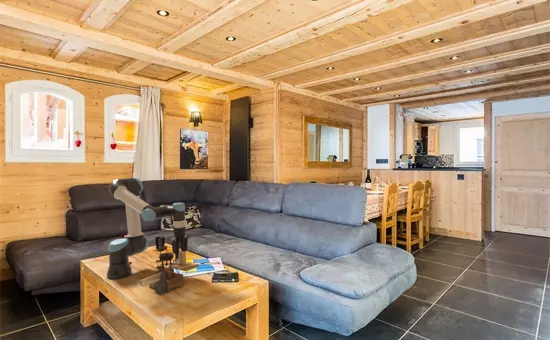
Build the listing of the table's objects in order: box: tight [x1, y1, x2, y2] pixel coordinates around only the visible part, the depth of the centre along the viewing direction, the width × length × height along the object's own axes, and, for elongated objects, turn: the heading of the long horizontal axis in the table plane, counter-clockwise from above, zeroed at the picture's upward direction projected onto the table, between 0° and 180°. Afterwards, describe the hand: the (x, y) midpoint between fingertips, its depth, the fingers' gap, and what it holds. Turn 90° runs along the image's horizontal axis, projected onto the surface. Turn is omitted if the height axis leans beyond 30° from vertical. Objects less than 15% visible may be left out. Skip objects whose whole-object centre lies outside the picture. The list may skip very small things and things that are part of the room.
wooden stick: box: [139, 272, 162, 288], centre depth 176 cm, size 3×14×3 cm, turn 150°
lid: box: [168, 250, 200, 272], centre depth 202 cm, size 16×11×9 cm
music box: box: [153, 245, 175, 272], centre depth 210 cm, size 15×11×20 cm
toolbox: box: [148, 269, 184, 296], centre depth 188 cm, size 16×16×12 cm
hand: (180, 262), depth 203 cm, fingers closed on lid, 3 cm apart
